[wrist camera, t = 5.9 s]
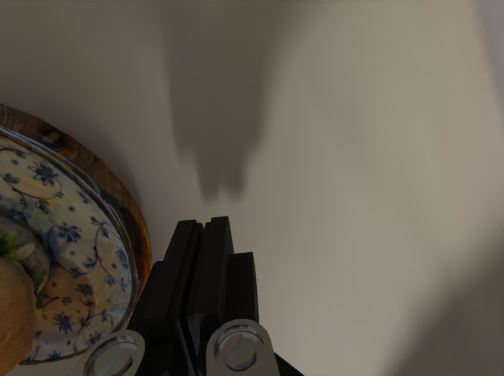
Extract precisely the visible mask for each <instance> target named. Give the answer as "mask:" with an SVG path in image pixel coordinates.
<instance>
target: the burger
mask: <svg viewBox="0 0 504 376" xmlns="http://www.w3.org/2000/svg"><path fill="white" fill-rule="evenodd" d="M150 264H151V250H150V243H149V238H148V232H147V230H146V227H145V225H144V222H143V220H142V217H141V215H140V212H139V210H138V208H137V207H136V205H135V203H134V202H133V200H132V199H131V197H130V196H129V194H128V193H127V191H126V189H125V188H124V186H123V185H122V183H121V182H120V181H119V180H118V179H117V178H116V177H115V176H114V175H113V174H112V173H111V172H110V170H109V169H108V168H107V167H106V166H105V165H104V164H103V163H102V162H101V161H100V160H99V159H98V158H97V157H96V156H94V155H93V154H92V153H91V152H89V151H88V150H87V149H85V148H84V147H83V146H82V145H80V144H79V143H78V142H77V141H75V140H74V139H73V138H71V137H70V136H68V135H67V134H65V133H63V132H62V131H60V130H58V129H56V128H54V127H53V126H51V125H49V124H47V123H45V122H44V121H42V120H40V119H39V118H37V117H34V116H31V115H29V114H26V113H24V112H21V111H18V110H16V109H13V108H11V107H8V106H5V105H3V104H0V376H4V375H5V374H7V373H8V372H9V371H10V370H12V369H13V368H14V367H15V366H16V365H17V364H19V365H36V364H39V363H47V362H55V361H59V360H63V359H70V358H73V357H74V356H76V355H80V354H83V353H85V352H87V351H88V349H89V348H90V347H91V346H93V345H94V344H95V343H96V342H97V341H99V340H100V339H102V338H103V337H105V336H107V335H109V334H111V333H114V332H117V331H120V329H121V328H122V327H123V326H124V324H125V322H126V321H127V319H128V318H129V316H130V315H131V313H132V311H133V310H134V308H135V305H136V302H137V301H138V299H139V298H140V296H141V293H142V291H143V289H144V286H145V284H146V281H147V279H148V275H149V273H150Z"/></svg>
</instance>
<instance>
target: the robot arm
mask: <svg viewBox="0 0 504 376" xmlns="http://www.w3.org/2000/svg"><path fill="white" fill-rule="evenodd" d="M70 376H304V375H303V374H302V373H300V372H299V371H298V370H297V369H295V368H294V367H293V366H291V365H290V364H289V363H288V362H286V361H285V360H284V359H283V358H281V357H280V356H279V355H277V354H276V353H275V352H274V351H273V347H272V343H271V339H270V337H269V335H268V333H267V331H266V330H265V329H264V328H263V327H262V326H261V325H260V324H259V312H258V296H257V283H256V273H255V265H254V257H253V252H246V253H236V254H234V249H233V242H232V236H231V230H230V223H229V218H228V216H223V217H213V218H212V219H211V222H206V224H205V228H203V225H202V223H197V221H196V220H195V219H194V220H184V221H179V222H178V224H177V226H176V229H175V231H174V234H173V236H172V239H171V241H170V244H169V247H168V249H167V252H166V254H165V257H164V259H163V261H157V262H156V263H155V264H154V265H153V267H152V270H151V272H150V274H149V277H148V279H147V281H146V284H145V286H144V289H143V291H142V293H141V296H140V298H139V300H138V303H137V305H136V307H135V310H134V312H133V314H132V317H131V319H130V321H129V324H128V326H127V328H126V330H121V331H117V332H114V333H111V334H109V335H107V336H105V337H103V338H102V339H100V340H99V341H97V342H96V343H95V344H94V345H93V346H91V347H90V348H89V349H88V351H87V352H86V353H85V354H84V356H83V357H82V358H81V360H80V361H79V363H78V364H77V366H76V367H75V369H74V370H73V371H72V373H71V374H70Z"/></svg>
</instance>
